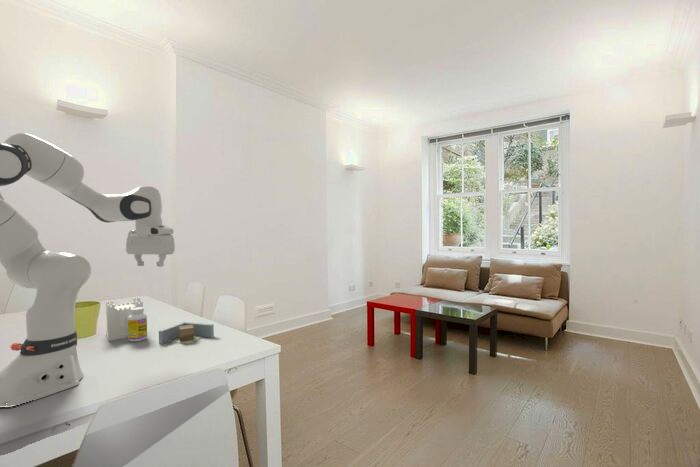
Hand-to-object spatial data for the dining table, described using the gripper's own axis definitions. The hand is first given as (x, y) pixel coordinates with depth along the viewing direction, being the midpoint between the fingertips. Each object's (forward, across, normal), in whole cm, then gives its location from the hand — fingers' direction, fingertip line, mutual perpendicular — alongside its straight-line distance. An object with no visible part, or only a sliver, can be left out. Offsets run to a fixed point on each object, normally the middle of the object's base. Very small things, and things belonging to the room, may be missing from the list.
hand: (150, 266), depth 135 cm
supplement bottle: (+31, -14, +6) cm, 35 cm away
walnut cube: (+31, +6, +11) cm, 33 cm away
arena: (+31, +6, +12) cm, 34 cm away
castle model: (+31, -27, +11) cm, 43 cm away
